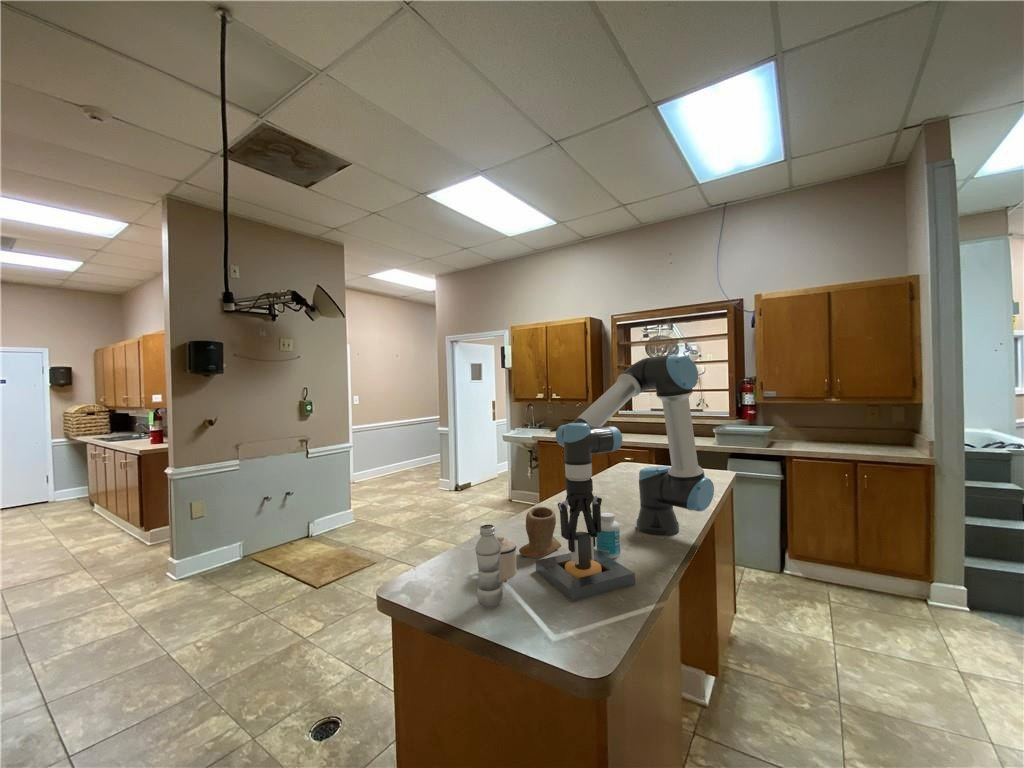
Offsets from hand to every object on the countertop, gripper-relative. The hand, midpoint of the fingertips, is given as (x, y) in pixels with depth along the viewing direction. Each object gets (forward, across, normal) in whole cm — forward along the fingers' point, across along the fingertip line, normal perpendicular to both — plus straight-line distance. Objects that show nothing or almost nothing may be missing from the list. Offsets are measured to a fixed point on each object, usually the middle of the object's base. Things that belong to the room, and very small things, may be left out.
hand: (582, 560), depth 116 cm
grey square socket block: (+6, 0, 0) cm, 6 cm away
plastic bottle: (+6, +28, 0) cm, 29 cm away
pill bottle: (+6, -16, -10) cm, 20 cm away
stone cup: (+6, +1, -23) cm, 24 cm away
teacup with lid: (+6, +20, -15) cm, 26 cm away
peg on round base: (+5, 0, 0) cm, 5 cm away
